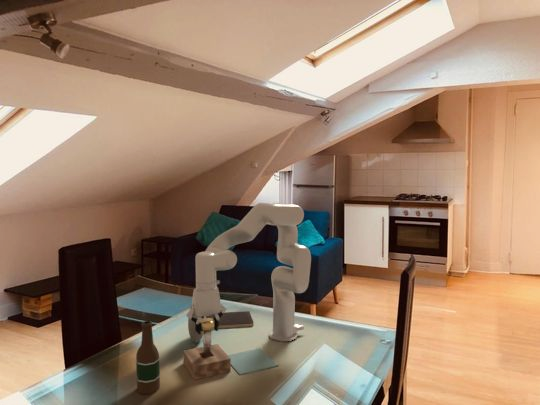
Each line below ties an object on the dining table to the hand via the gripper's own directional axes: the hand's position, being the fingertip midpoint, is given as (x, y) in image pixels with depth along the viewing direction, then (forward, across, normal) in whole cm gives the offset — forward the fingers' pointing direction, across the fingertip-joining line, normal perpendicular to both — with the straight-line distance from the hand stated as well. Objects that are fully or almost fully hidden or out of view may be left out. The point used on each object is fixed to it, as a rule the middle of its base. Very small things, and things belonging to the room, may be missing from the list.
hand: (207, 330), depth 165 cm
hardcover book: (+16, -23, -39) cm, 48 cm away
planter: (+15, -4, -24) cm, 28 cm away
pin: (+8, 0, 0) cm, 8 cm away
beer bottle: (+14, +24, +6) cm, 28 cm away
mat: (+15, -16, +3) cm, 22 cm away
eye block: (+14, 0, 0) cm, 14 cm away
